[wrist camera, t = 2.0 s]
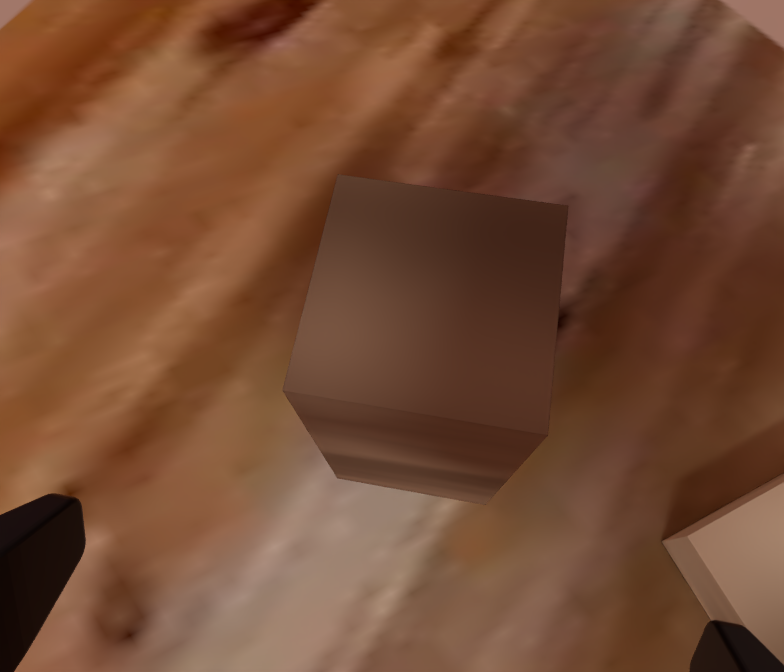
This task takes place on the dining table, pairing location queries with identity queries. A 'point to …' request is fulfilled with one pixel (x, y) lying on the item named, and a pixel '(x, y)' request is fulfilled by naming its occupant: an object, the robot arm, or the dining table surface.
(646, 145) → the dining table surface
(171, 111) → the dining table surface
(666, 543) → the birch plinth
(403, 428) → the walnut pillar
